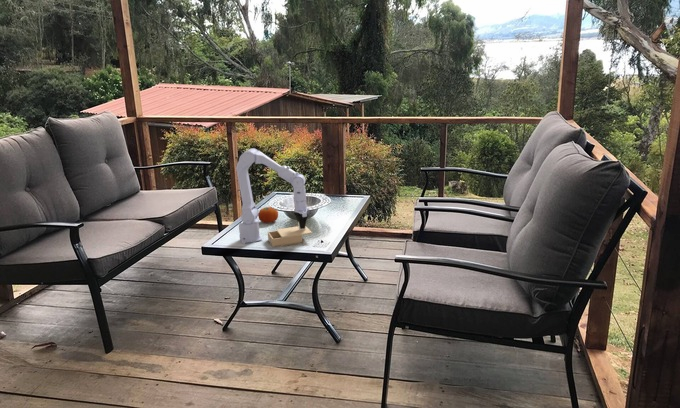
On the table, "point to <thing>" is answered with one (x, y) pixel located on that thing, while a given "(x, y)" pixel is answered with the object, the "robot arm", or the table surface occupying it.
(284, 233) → the lid
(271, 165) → the robot arm
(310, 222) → the table surface
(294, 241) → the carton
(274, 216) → the fruit
